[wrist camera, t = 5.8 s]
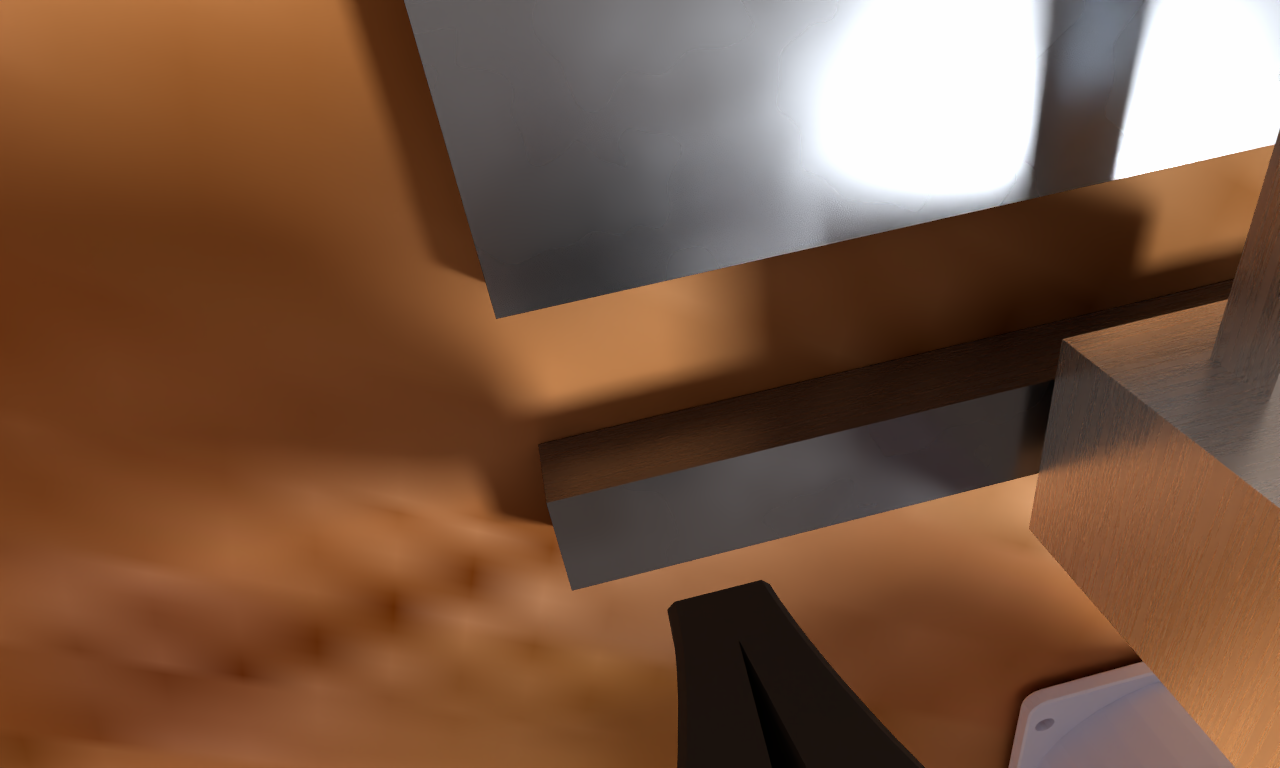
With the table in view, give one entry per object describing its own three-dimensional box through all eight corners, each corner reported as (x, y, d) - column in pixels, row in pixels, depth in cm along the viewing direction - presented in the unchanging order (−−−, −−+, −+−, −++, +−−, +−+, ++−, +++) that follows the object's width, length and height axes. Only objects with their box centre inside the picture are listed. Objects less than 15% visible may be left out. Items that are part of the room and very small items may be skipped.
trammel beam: (1710, 247, 16) (1812, 277, 15) (562, 529, 15) (571, 590, 13) (1772, 151, 15) (1889, 176, 14) (538, 444, 13) (546, 502, 12)
